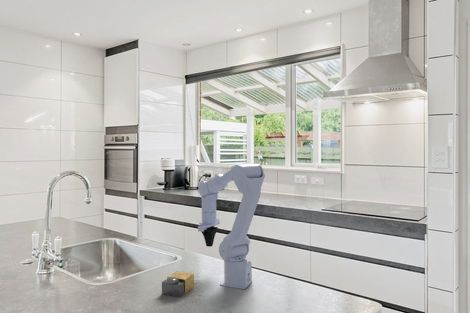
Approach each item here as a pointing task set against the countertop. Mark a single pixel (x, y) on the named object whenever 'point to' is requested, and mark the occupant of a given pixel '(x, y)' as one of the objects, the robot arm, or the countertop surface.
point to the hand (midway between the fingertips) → (209, 246)
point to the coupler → (173, 287)
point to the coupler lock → (184, 280)
